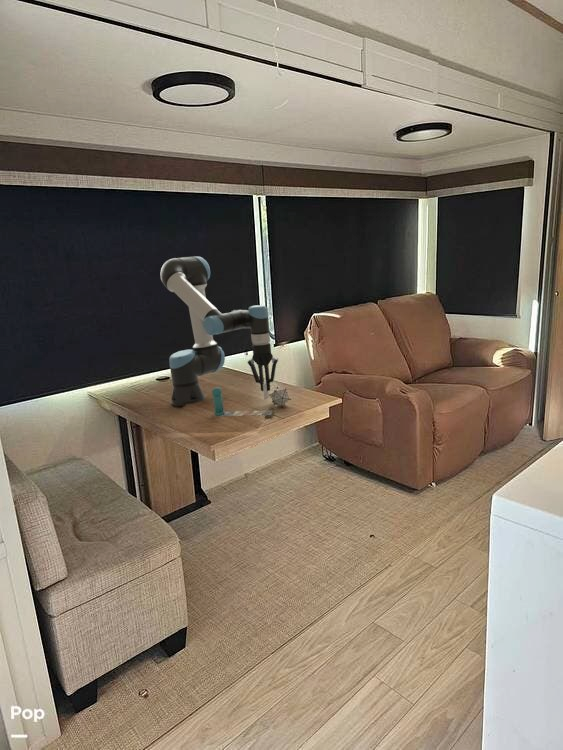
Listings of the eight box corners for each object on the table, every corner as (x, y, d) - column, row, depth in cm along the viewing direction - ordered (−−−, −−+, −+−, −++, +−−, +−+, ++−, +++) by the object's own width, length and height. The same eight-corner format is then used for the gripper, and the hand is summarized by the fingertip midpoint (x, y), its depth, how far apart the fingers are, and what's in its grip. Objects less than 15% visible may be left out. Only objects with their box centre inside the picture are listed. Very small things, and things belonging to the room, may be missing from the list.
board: (213, 419, 203) (212, 416, 203) (217, 414, 209) (217, 411, 208) (271, 417, 199) (270, 414, 198) (273, 412, 204) (273, 409, 204)
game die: (279, 416, 211) (268, 401, 205) (273, 403, 218) (262, 389, 212) (297, 404, 211) (286, 390, 204) (290, 392, 217) (280, 378, 211)
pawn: (213, 415, 203) (209, 388, 201) (216, 412, 207) (212, 385, 205) (223, 415, 203) (219, 388, 200) (226, 412, 207) (222, 385, 204)
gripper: (243, 346, 203) (249, 401, 209) (275, 344, 201) (280, 400, 207) (247, 342, 211) (253, 395, 216) (278, 340, 208) (283, 394, 214)
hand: (266, 398), depth 212 cm, fingers closed
